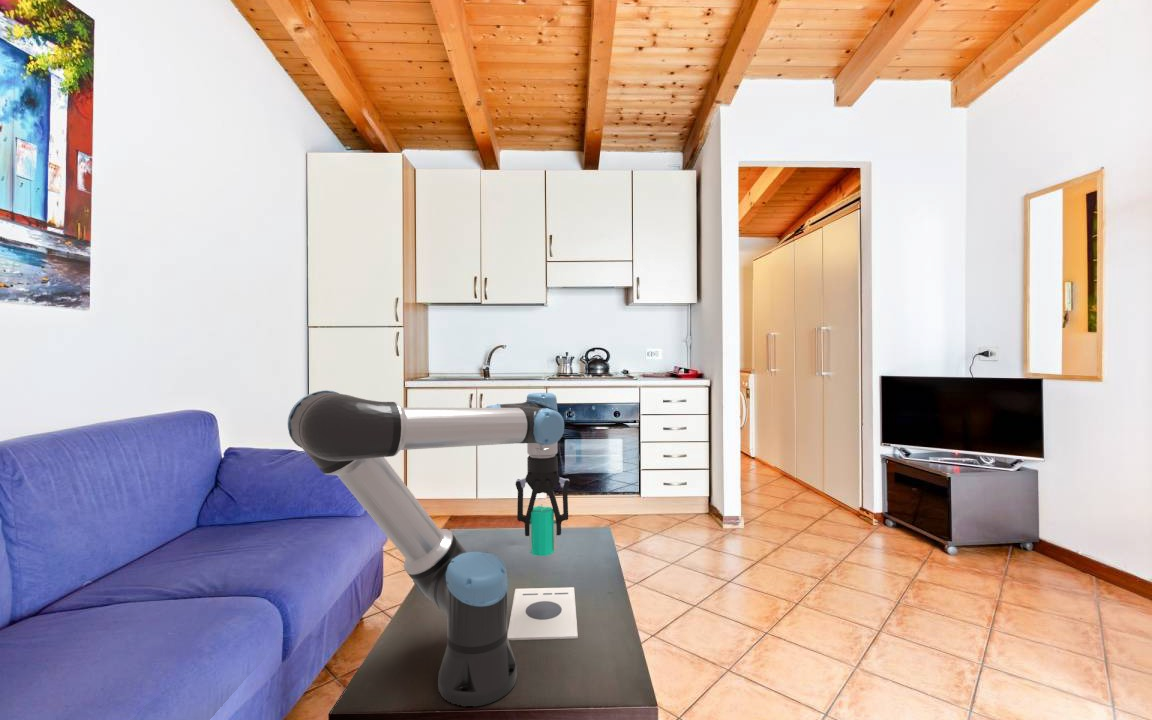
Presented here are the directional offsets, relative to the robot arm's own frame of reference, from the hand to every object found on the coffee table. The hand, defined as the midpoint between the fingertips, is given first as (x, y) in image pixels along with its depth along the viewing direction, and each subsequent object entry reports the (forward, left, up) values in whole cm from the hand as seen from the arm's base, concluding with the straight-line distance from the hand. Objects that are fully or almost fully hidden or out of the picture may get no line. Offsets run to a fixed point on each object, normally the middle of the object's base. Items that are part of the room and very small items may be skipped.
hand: (543, 548), depth 124 cm
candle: (0, 0, -1) cm, 1 cm away
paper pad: (0, 0, -16) cm, 16 cm away
